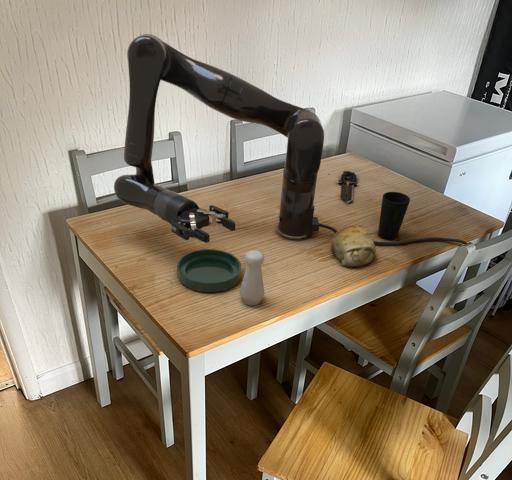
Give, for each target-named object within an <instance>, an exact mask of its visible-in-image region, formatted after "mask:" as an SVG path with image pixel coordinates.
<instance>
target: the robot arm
mask: <svg viewBox="0 0 512 480" xmlns="http://www.w3.org/2000/svg"><path fill="white" fill-rule="evenodd" d="M126 58H127V66H128V68H127V69H128V80H129V81H128V82H129V99H128V100H129V101H128V111H127V112H128V113H127V120H126V122H127V123H126V128H125V136H124V137H125V138H124V147H123V148H124V149H123V161H124V162H125V164H126V165H128V166H129V167H133V168H135V173H134V174H122V175H119V176H118V177H117V178H116V179H115V181H114V184H113V190H114V191H113V192H114V194H115V196H116V197H117V199H118V200H119V201H121V202H122V203H124V204H125V205H128V206H131V207H135V208H138V209H141V210H142V209H143V210H146V211H149V212H150V213H151V214H154V215H155V216H157V217H159V218H160V219H161V220H163V221H164V222H166V223H168V224H170V228H171V229H170V231H171V232H172V233H173V234H175V235H176V236H178V237H180V238H181V239H182V240H185V241H189V240H190V238H191V239H196V240H198V241H200V242H203V243H205V244H208V243H210V239H211V238H210V234H209V233H208V232H207V231H204V230H202V229H203V228H206V227H214V228H215V227H216V226H222V227H223V228H225V229H227V230H229V231H230V232H234V231H236V222H235V221H234V220H232V219H230V218H229V215H230V214H229V213H230V212H229V211H228V210H225V209H223V208H220V207H218V206H216V205H214V204H210V205H209V206H208V207H209V208H208V209H203V208H201V207H199V205H198V203H197V202H195V201H194V200H192V199H190V198H188V197H186V196H184V195H182V194H180V193H178V192H176V191H172V190H170V189H167V188H165V187H163V186H161V185H159V184H156V183H155V177H154V169H153V168H154V167H153V161H152V159H153V150H154V142H155V141H154V140H155V127H156V126H155V123H156V122H155V121H156V119H155V117H156V103H157V97H158V92H159V87H160V84H161V82H162V81H163V82H164V83H167V84H170V85H173V86H175V87H177V88H180V89H181V90H183V91H184V92H186V93H188V94H189V95H190V96H192V97H193V98H195V99H196V100H197V101H199V102H201V103H202V104H204V105H205V106H207V107H209V108H210V109H212V110H214V111H215V112H218V113H220V114H222V115H224V116H226V117H228V118H230V119H233V120H236V121H239V122H244V123H250V124H256V125H261V126H265V127H267V128H270V129H271V130H273V131H276V132H277V133H279V134H281V135H283V137H286V138H287V143H286V154H285V162H284V165H283V172H282V173H283V174H282V183H281V192H280V193H281V194H280V203H279V212H278V215H277V218H278V224H277V233H278V235H279V236H281V237H282V238H284V239H287V240H292V241H293V240H294V241H299V240H304V239H307V238H311V235H312V232H313V233H319V231H320V228H324V229H326V230H329V231H332V232H333V233H334V234H335V233H336V232H338V231H339V230H337V229H335V228H334V227H333V226H330V225H327V224H323V223H320V221H319V217H318V216H314V215H315V203H314V202H315V196H316V195H315V194H316V189H317V181H318V173H319V170H320V168H321V163H322V157H323V151H324V144H325V130H324V128H323V127H324V126H323V124H322V122H321V119H320V118H319V116H318V115H317V114H316V113H315V112H313V111H311V110H310V109H306V108H303V107H301V106H298V105H295V104H292V103H289V102H287V101H284V100H283V99H282V100H281V99H279V98H277V97H275V96H274V95H271V94H270V93H269V92H267V91H265V90H263V89H261V88H260V87H258V86H256V85H254V84H252V83H250V82H248V81H247V80H245V79H243V78H241V77H239V76H237V75H234V74H232V73H230V72H228V71H226V70H223V69H221V68H219V67H217V66H213V65H211V64H209V63H205V62H203V61H199V60H197V59H194V58H192V57H190V56H188V55H186V54H184V53H183V52H182V51H180V50H178V49H177V48H174V47H173V46H171V45H170V44H168V43H167V42H165V41H163V40H162V39H161V38H160V37H158V36H156V35H154V34H150V33H144V34H140V35H138V36H136V37H135V38H133V39H132V40H131V42H129V45H128V48H127V52H126ZM210 217H211V221H210ZM372 241H373V242H374V245H378V246H401V245H405V244H412V243H419V242H429V241H442V242H453V243H459V244H463V245H464V246H466V245H465V244H467V243H468V242H467V241H465V240H462V239H458V238H449V237H448V238H446V237H438V236H436V237H435V236H433V237H432V236H431V237H421V238H413V239H407V240H400V241H376V240H372Z"/></svg>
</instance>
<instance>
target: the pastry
mask: <svg viewBox="0 0 512 480" xmlns="http://www.w3.org/2000/svg"><path fill="white" fill-rule="evenodd" d="M337 231H338V232H336V233H334V234H333V239H332V240H331V241H330V245H331V249H332V251H333V255H334V256H335V257H336V259H337V260H338V261H339V262H341V265H342V266H343V267H352V268H353V267H360V266H365V265H369V264H370V263H372V261H373V258H374V257H375V256H376V254H377V249H376V244H374V242H373V241H374V240H373V239H372V238H371V235H370V233H369V231H368V230H366V228H364V227H363V226H362V225H349V226H345V227H343V228H341V229H340V230H337Z"/></svg>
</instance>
